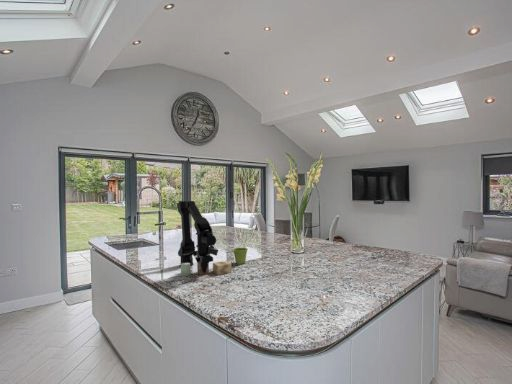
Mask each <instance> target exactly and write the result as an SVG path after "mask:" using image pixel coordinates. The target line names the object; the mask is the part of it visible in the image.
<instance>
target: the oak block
mask: <svg viewBox="0 0 512 384" xmlns="http://www.w3.org/2000/svg"><path fill="white" fill-rule="evenodd" d="M212 271H214V273H215V274H216V275H217V276H219V274H220V275H224V274H225V273H226V274H231V272H232V263H230V262H228V261H226V260H222V261H217V262H212Z"/></svg>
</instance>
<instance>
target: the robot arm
mask: <svg viewBox="0 0 512 384" xmlns="http://www.w3.org/2000/svg"><path fill="white" fill-rule="evenodd" d="M176 208H177V212H178V214H179V215H180V220H181V221H180V222H181V233H182V240H181V242H180V245H179V250H178V251H177V255H178V257H180V264H179V267H181V264H182V263H190V267H192V266H193V265H194V258H195V260H196V263H197V262H200V265H201V267H202V270H203V273H205V272H206V269H207V265H208V263H209V264H210V263H211V262H212V263H213V262H214V257H213V256H218V253H219V249H217V248H216V247H214V245H216V243H217V238H216V236H215V235H214V234H213V233H214V232H213V228H212V227H211V224H210V222H209V221H208V219H207V218H205V216H204V217H203V216H202V214H201V212H200V210H199V208H198V207H197V205H196V201H194V200H179V201H178V202H177V203H176ZM190 215H191V217H192V219H193V221H194V225H193V226H194V229H195V231H196V233H195V235H197V236H196V237H197V239H196V240H197V242H196V246H195V241H194V240H192V237H191V236H192V235H191V223H190ZM196 248H197V250H196ZM212 255H213V256H212ZM193 257H194V258H193Z"/></svg>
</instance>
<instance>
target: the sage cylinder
mask: <svg viewBox="0 0 512 384" xmlns="http://www.w3.org/2000/svg"><path fill="white" fill-rule="evenodd" d="M180 265H181V266H180V276H181V277H189V276H191V266H190V263H182V264H181V263H180Z"/></svg>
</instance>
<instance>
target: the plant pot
mask: <svg viewBox="0 0 512 384" xmlns="http://www.w3.org/2000/svg"><path fill="white" fill-rule="evenodd" d="M248 250H249V249H248V248H246V247H236V248H233V249H232V251H233V255H234V261H235V264H237V265H242V264H245V263H246V262H247V261H246V260H247V252H248Z"/></svg>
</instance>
